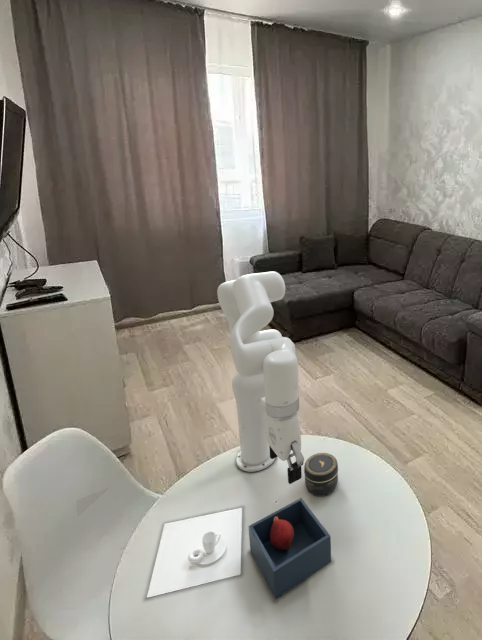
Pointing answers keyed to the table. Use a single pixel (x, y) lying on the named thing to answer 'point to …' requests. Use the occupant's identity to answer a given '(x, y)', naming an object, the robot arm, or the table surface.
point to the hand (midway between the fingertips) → (285, 467)
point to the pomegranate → (281, 534)
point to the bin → (303, 555)
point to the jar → (321, 474)
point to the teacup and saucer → (197, 552)
